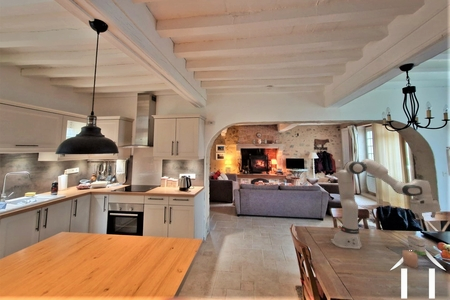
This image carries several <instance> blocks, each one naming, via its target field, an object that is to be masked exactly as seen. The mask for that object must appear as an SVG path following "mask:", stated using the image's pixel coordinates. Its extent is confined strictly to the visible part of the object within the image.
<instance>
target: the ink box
mask: <svg viewBox="0 0 450 300" xmlns="http://www.w3.org/2000/svg"><path fill="white" fill-rule="evenodd" d="M407 244H408V245H407V246H408V247H407V248H408V250H410V251H411V250H412V252H415V253H416V254H418V255H420V256H427V251H426V243H425V238H422V237H419V236H417V235H415V234H407Z"/></svg>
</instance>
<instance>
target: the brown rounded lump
mask: <svg viewBox="0 0 450 300" xmlns="http://www.w3.org/2000/svg"><path fill="white" fill-rule="evenodd" d="M402 252H403V256H402V260H403V261H402V262H403V264H404V265H405V266H407V267H410V268H415V269H416V268H419V263H418V259H419V258H417V253H415V252H413V251H411V250H410V251H409V249H408V250H403V251H402Z"/></svg>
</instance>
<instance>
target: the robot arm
mask: <svg viewBox="0 0 450 300" xmlns="http://www.w3.org/2000/svg"><path fill="white" fill-rule="evenodd" d="M364 172H366V173H368V174H369V175H371V176H372V177H374V178H377V179H379V180H381V181H383V182H385V184H387V185H388V186H390V187H391V188H392V189H393V191H394V192H395V193H397V194H400V195H403V196H408V197H413V198H410V199H409V202H410V211H411V212H412V213H414V214H417V215H418V217H419V219H420V220H424V216H423V214H426V213H431V214H430V218H431V219H432V218H433V219H435V218H436V215H437V212H441V210H442V209H441V205H440V203H439V202H438V200H437V199H435V198H433V195H432V187H431V184H430V181H428V180H426V179H422V178H414V179H413V180H412V181H410V182H403V181H399V180H396V179H395V178H394V177H392V176H390V175H389V170H388V169H387V168H386V167H385V166H384V165H383V164H380V163H379V162H377V161H375V160H373V159H370V158H364V159H362V160H361V161H355V160H350V161H347V162H346V163H345V164H344V167H343V168H342V169H339V171H337V174H336V175H337V177H336V178H337V184H338V192H339V201H340V205H341V208H342V212H341V213H342V215H341V217H342V220H341V221H342V225H338V227H337V228H338V229H340V230H339V231H337V232H336V233H334V235H333V238H330V242H331V243H332V244H333V245H334V246H336V247H338V248H344V249H355V250H360V249H361V248H362V247H363V245H362V243H361V238H360V228H359V219H358V216H359V205H358V203H357V202H356V199H355V187H354V182H353V181H354V180H353V176H354V175H360V174H362V173H364Z"/></svg>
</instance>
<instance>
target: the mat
mask: <svg viewBox="0 0 450 300" xmlns="http://www.w3.org/2000/svg"><path fill="white" fill-rule="evenodd" d="M386 248H387V249H389V250H391V251H392V252H394V253H396V254H398V255H399V256H401V257H403V252H402V251H403V250H409V248H406V247H404V246H386ZM416 254H417V253H416ZM417 259H425V257H424V256H423V255H419V254H417Z"/></svg>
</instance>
